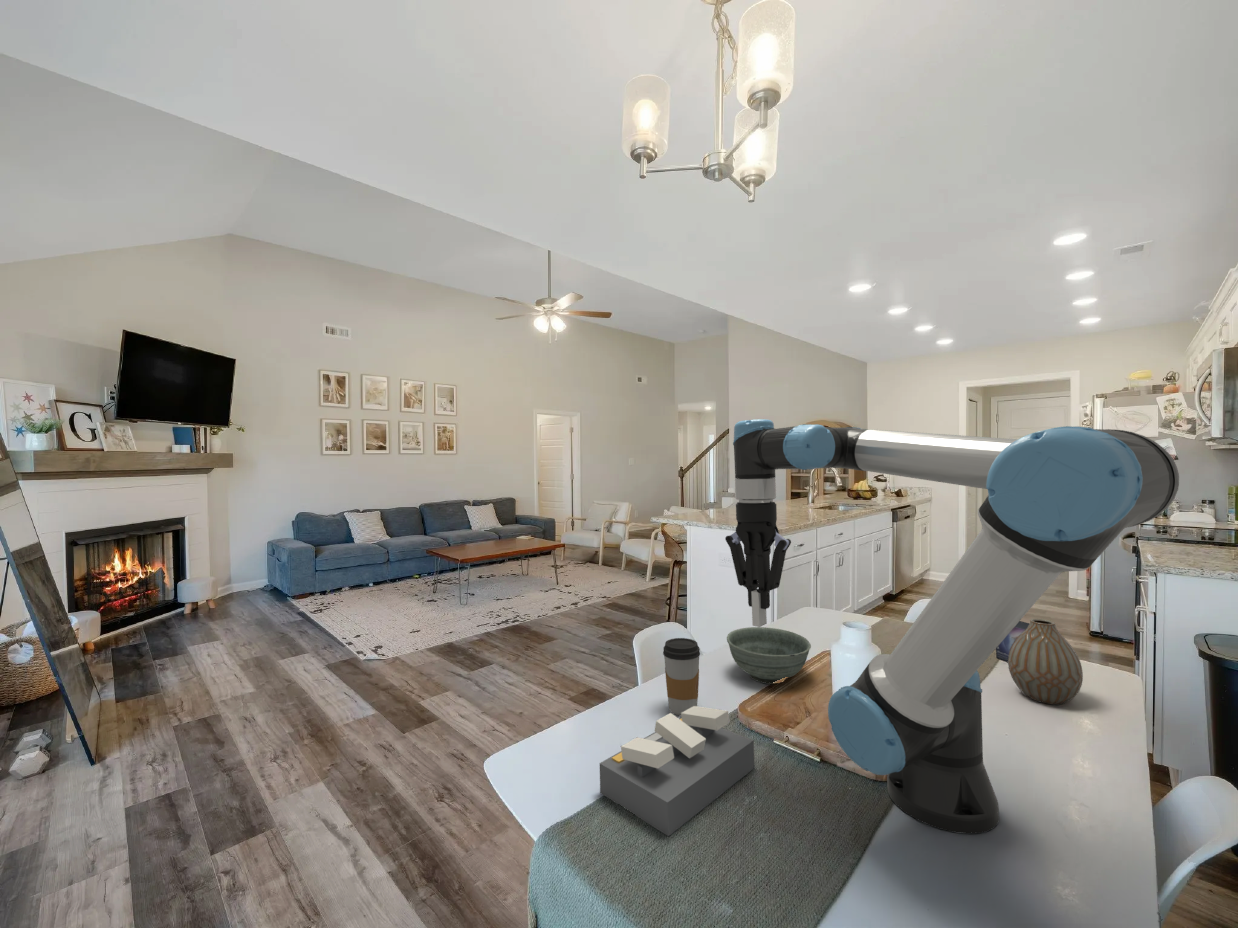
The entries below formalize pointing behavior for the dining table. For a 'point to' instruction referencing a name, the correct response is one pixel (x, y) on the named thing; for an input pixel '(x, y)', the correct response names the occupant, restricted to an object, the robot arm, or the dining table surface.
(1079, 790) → the dining table surface
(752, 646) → the bowl
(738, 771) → the switch unit
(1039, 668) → the vase
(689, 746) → the rocker
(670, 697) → the coffee cup
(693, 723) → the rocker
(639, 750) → the rocker
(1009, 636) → the small box
